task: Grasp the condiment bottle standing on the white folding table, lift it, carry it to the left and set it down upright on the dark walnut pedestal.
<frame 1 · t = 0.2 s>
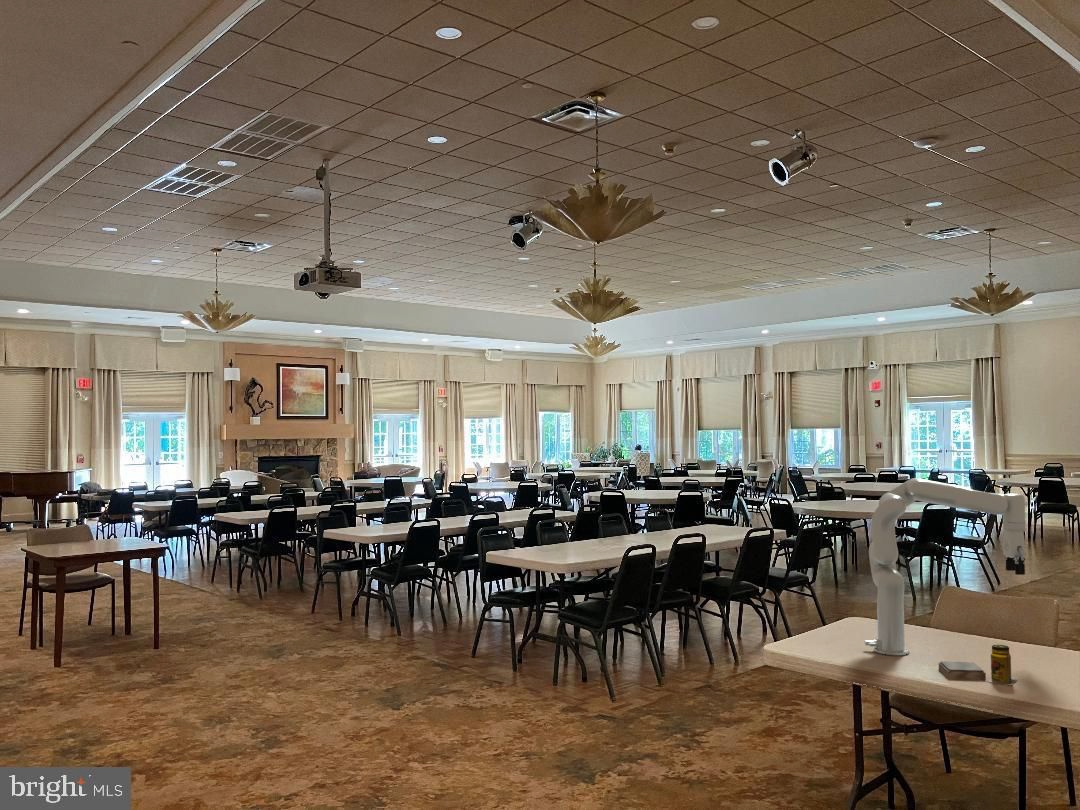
hand: (1015, 572, 340), 31 cm above the table, fingers open, 9 cm apart
condiment: (1002, 682, 306), on the table
pedestal: (961, 674, 314), on the table
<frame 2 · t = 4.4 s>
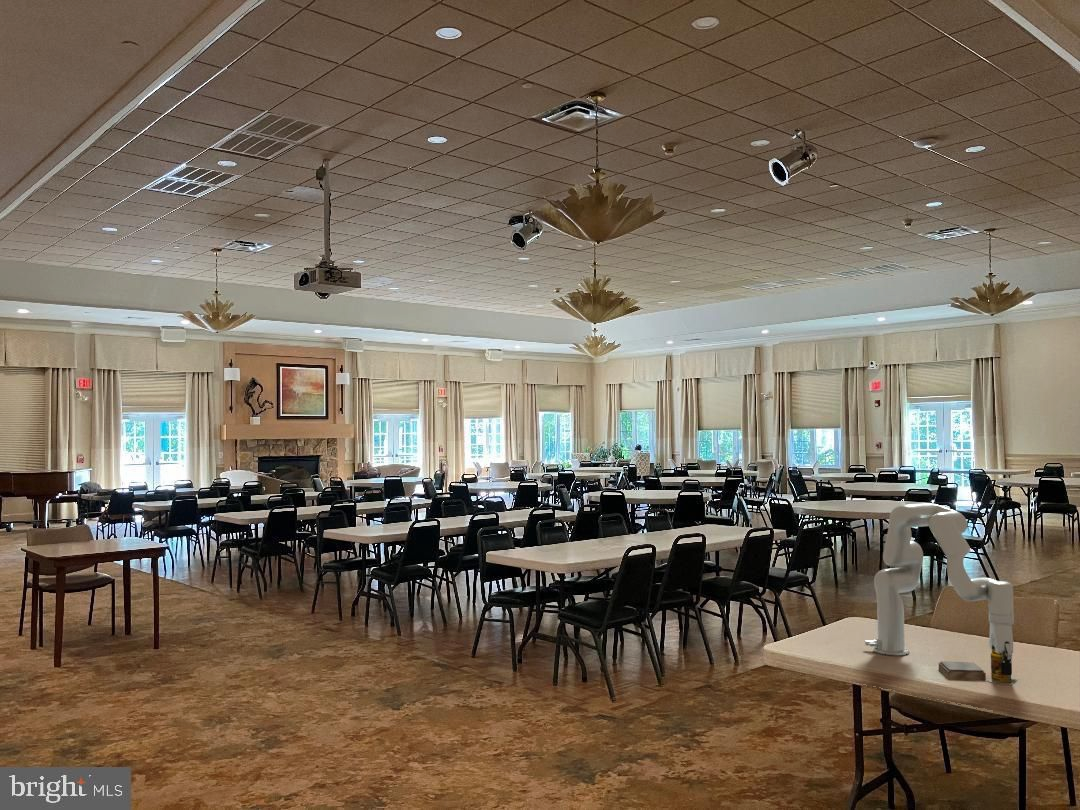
hand: (1002, 671, 305), 3 cm above the table, fingers open, 6 cm apart
condiment: (1002, 681, 306), on the table, touching gripper
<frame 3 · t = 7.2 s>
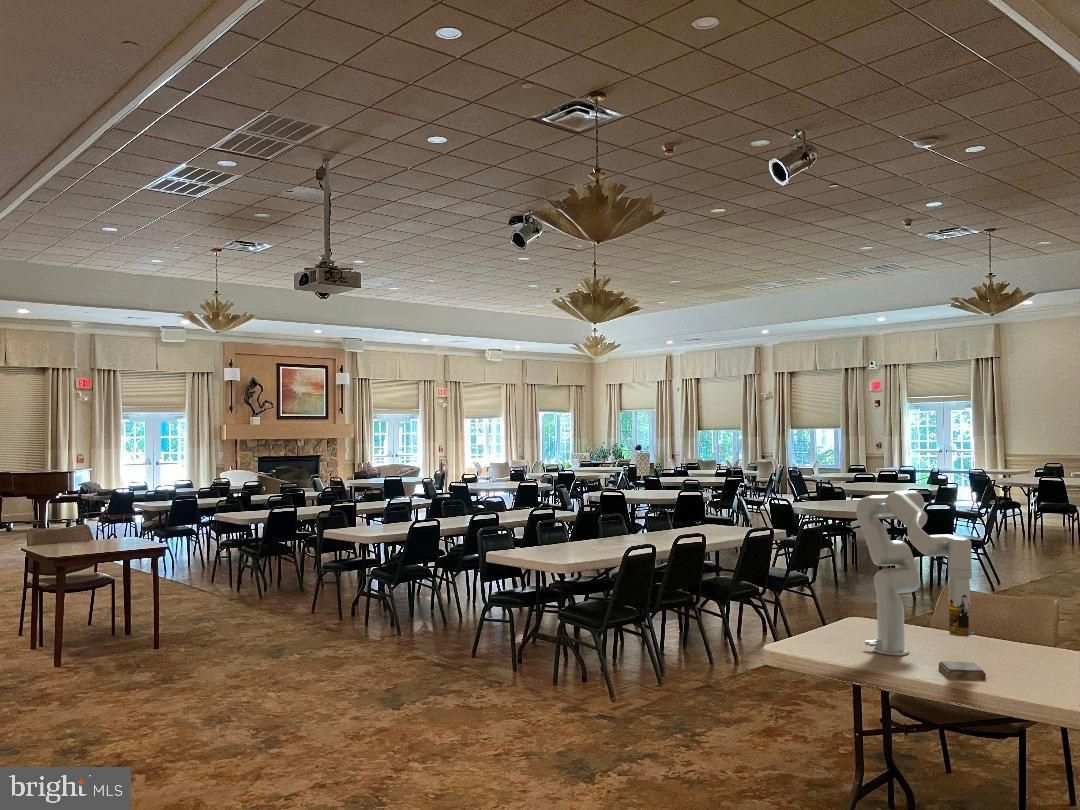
hand: (960, 624, 315), 17 cm above the table, fingers closed on condiment, 6 cm apart
condiment: (960, 634, 316), point 14 cm above the table, touching gripper
when the fingers open (7 cm above the table, at t = 10.0 s): condiment stays where it is, resting on pedestal.
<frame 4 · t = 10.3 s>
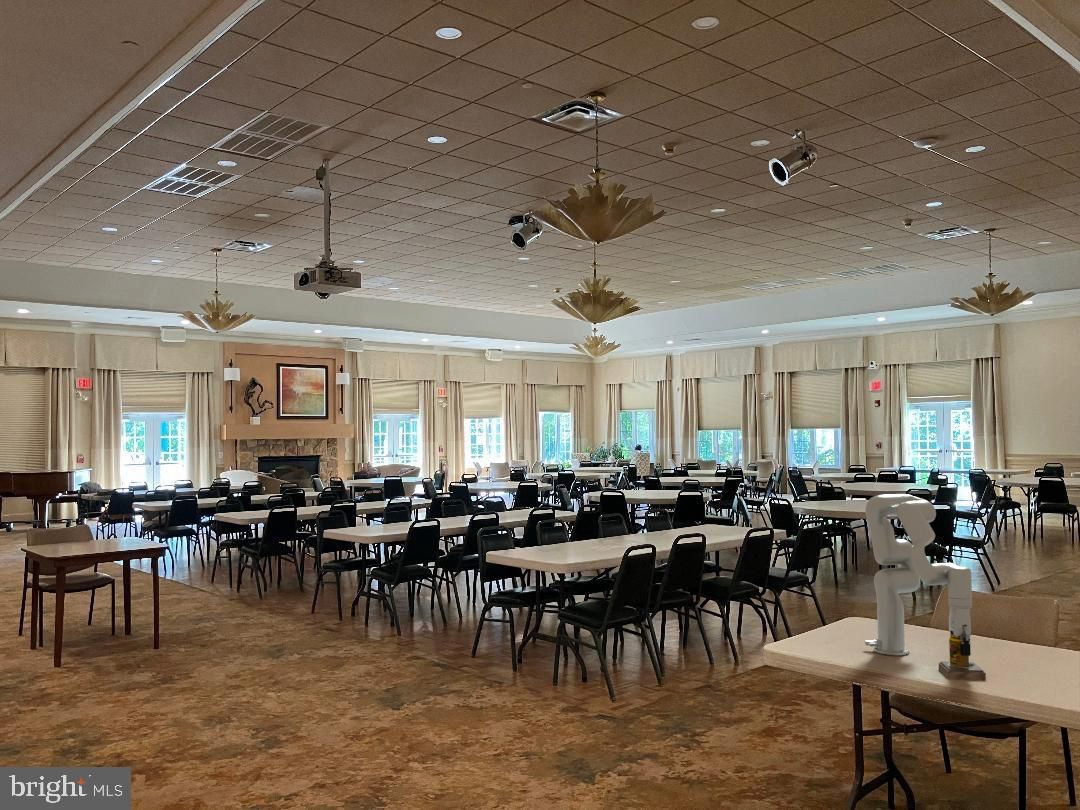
hand: (961, 652, 314), 8 cm above the table, fingers open, 9 cm apart
condiment: (960, 665, 315), point 3 cm above the table, touching pedestal
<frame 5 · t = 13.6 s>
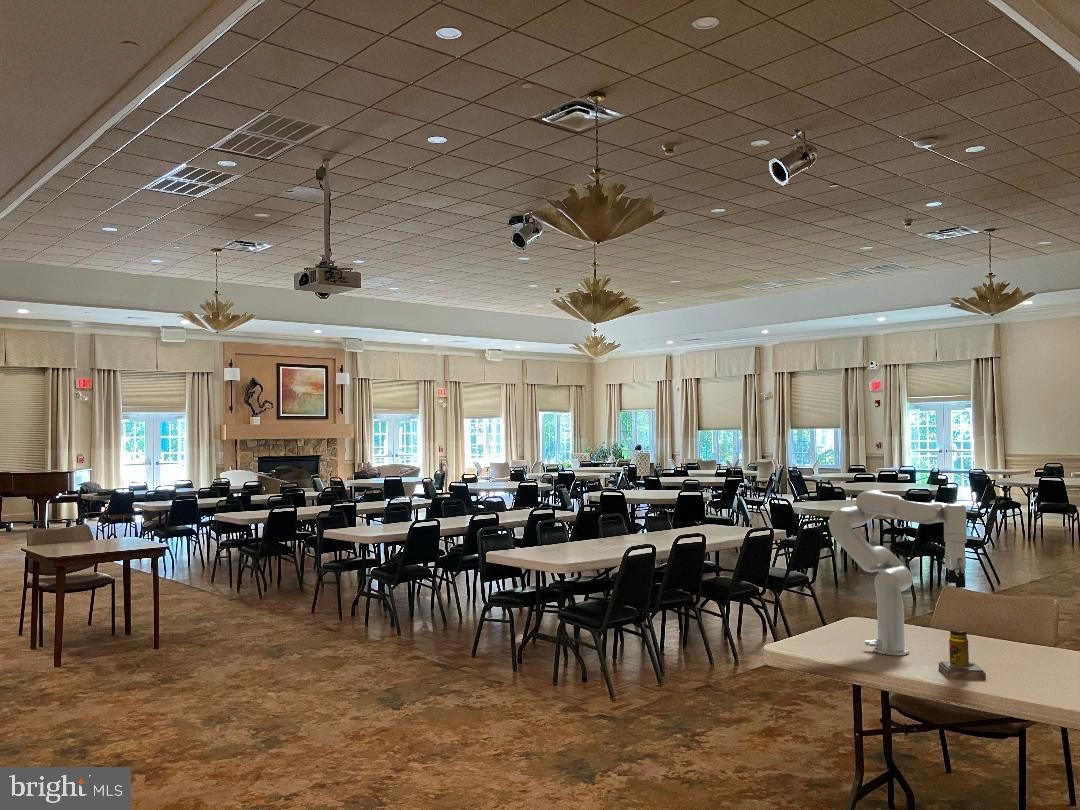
hand: (956, 585, 329), 28 cm above the table, fingers open, 9 cm apart
nothing on the table moved.
at the end: condiment inside the target area on the pedestal (0.9 cm from its centre), point 2.8 cm above the pedestal's base; condiment tilted 0°; the gripper is holding nothing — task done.
